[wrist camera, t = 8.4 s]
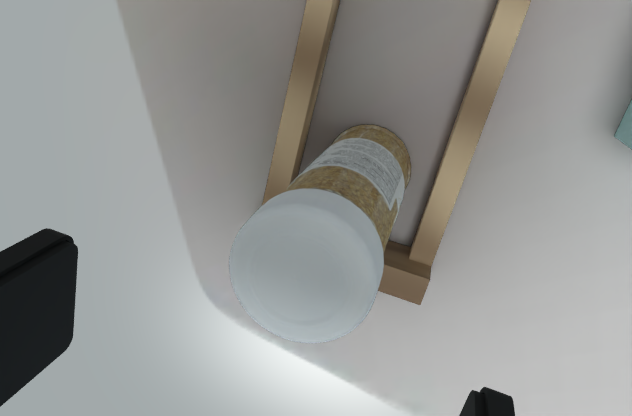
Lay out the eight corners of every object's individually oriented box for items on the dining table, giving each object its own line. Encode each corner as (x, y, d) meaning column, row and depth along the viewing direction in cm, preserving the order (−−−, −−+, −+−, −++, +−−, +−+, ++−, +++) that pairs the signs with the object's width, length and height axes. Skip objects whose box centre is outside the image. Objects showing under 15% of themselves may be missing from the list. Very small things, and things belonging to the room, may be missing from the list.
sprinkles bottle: (368, 222, 28) (301, 375, 16) (309, 163, 28) (195, 273, 16) (431, 166, 27) (410, 291, 14) (368, 102, 26) (291, 173, 14)
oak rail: (361, -209, 22) (348, -241, 19) (587, -163, 21) (607, -190, 18) (264, 224, 30) (245, 244, 27) (423, 277, 29) (420, 305, 26)
